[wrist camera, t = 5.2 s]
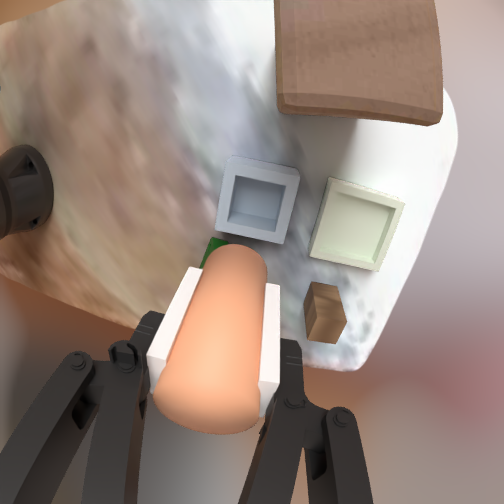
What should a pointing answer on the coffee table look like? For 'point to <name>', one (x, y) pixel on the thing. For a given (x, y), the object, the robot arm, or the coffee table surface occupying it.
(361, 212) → the tray
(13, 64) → the coffee table surface
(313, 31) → the wooden block
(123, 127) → the coffee table surface
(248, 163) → the socket
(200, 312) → the peach rounded rod
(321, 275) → the coffee table surface
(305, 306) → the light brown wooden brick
